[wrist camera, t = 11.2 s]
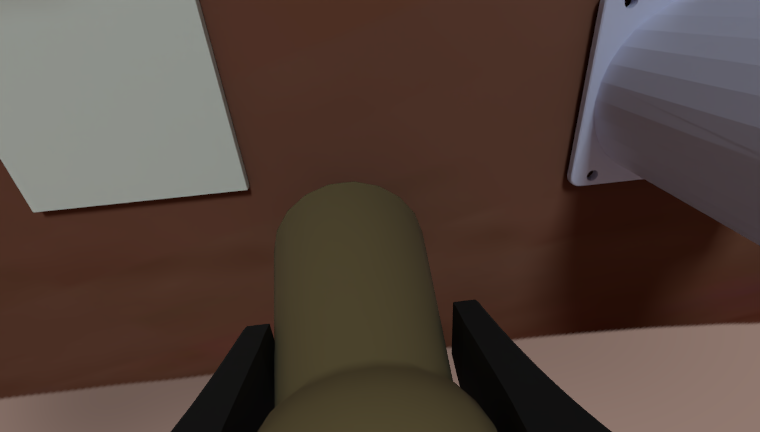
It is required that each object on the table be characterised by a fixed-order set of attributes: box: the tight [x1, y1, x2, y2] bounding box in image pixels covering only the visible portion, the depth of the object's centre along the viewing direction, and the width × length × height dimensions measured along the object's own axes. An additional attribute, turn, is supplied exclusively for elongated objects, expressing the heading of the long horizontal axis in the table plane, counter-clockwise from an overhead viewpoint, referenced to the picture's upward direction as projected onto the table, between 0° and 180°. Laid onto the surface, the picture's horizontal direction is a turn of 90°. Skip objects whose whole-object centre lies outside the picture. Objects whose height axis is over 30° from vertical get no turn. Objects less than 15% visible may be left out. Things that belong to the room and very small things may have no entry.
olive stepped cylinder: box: [257, 182, 497, 432], centre depth 10 cm, size 6×6×11 cm
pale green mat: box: [0, 0, 249, 212], centre depth 14 cm, size 9×9×1 cm
